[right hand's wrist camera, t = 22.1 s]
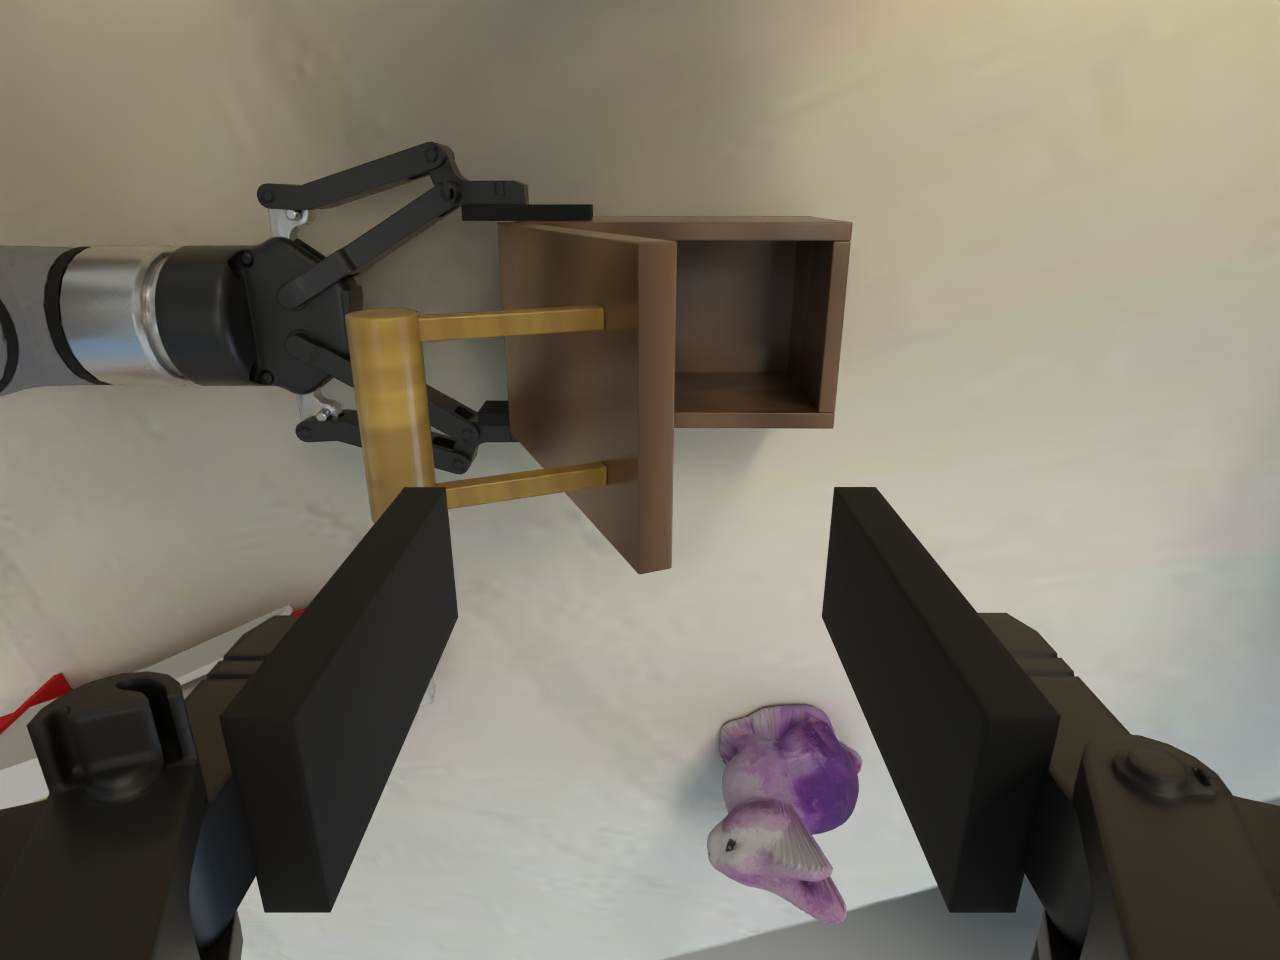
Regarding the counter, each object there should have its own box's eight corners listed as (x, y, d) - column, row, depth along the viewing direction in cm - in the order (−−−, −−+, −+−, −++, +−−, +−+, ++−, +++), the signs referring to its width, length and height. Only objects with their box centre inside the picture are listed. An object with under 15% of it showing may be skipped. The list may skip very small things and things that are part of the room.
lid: (677, 241, 21) (340, 249, 18) (672, 568, 25) (389, 624, 22) (521, 222, 36) (320, 224, 33) (532, 429, 39) (352, 450, 36)
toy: (439, 778, 49) (-14, 937, 48) (458, 666, 61) (100, 791, 61) (360, 620, 45) (-136, 790, 44) (398, 535, 57) (14, 666, 57)
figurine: (685, 747, 60) (700, 917, 46) (786, 672, 57) (834, 827, 43) (763, 816, 62) (799, 997, 48) (863, 746, 60) (932, 916, 46)
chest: (810, 216, 46) (852, 222, 36) (797, 382, 49) (833, 428, 40) (541, 216, 46) (511, 221, 36) (549, 381, 50) (523, 427, 40)
